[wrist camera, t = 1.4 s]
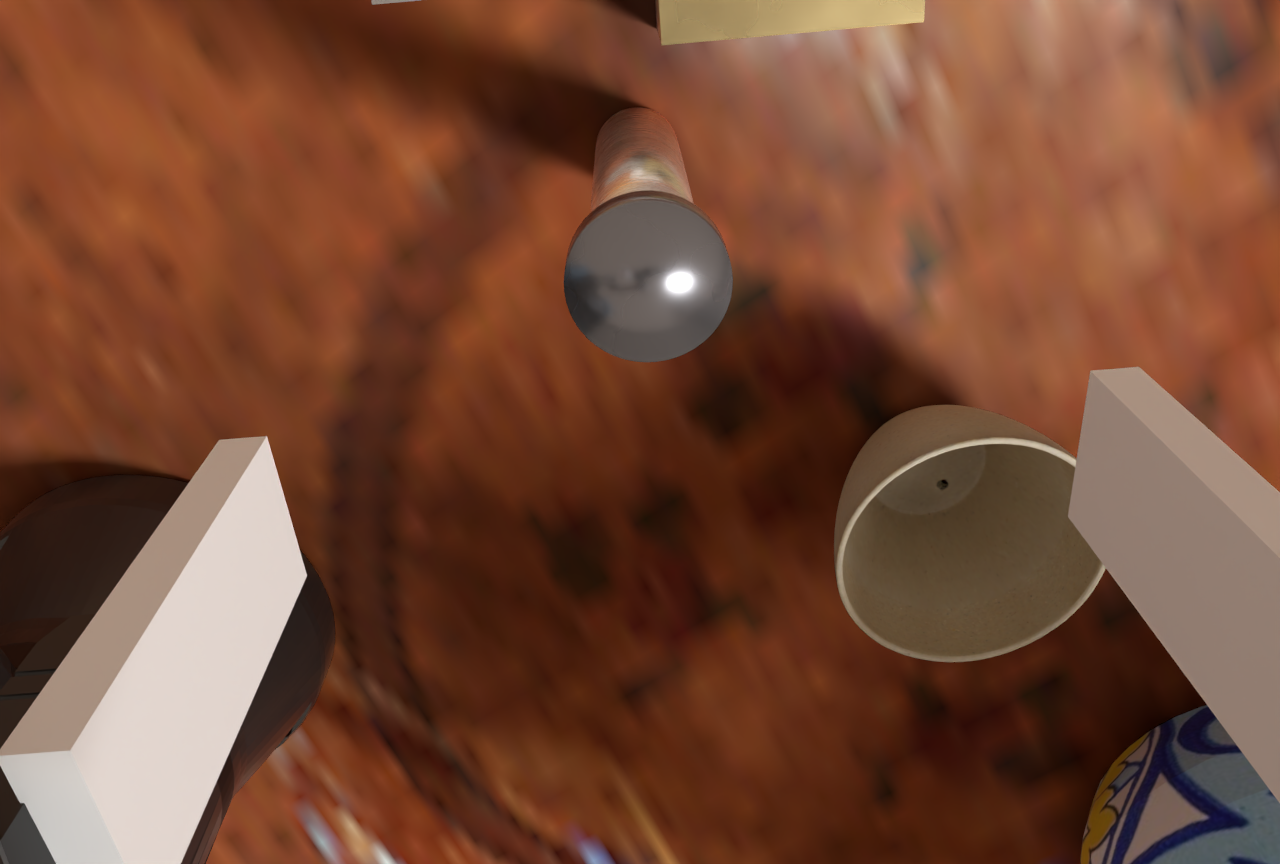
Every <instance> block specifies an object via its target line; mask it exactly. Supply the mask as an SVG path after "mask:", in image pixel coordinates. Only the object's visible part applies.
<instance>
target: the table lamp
mask: <svg viewBox="0 0 1280 864" xmlns="http://www.w3.org/2000/svg"><path fill="white" fill-rule="evenodd" d="M1080 864H1280V803H1279V802H1278V800H1277V799H1276V798H1275V796H1274V795H1273V794H1272V792H1271V791H1270V789H1269V788H1268V787H1267V785H1266V784H1265V783H1264V781H1263V780H1262V779H1261V777H1260V776H1259V775H1258V773H1257V772H1256V771H1255V769H1254V768H1253V766H1252V765H1251V764H1250V762H1249V761H1248V760H1247V758H1246V757H1245V756H1244V754H1243V753H1242V752H1241V750H1240V749H1239V748H1238V746H1237V745H1236V743H1235V742H1234V741H1233V739H1232V738H1231V737H1230V735H1229V734H1228V733H1227V731H1226V730H1225V729H1224V727H1223V726H1222V724H1221V723H1220V722H1219V720H1218V719H1217V718H1216V716H1215V715H1214V714H1213V712H1212V711H1211V710H1210V708H1209V707H1208V706H1207V705H1206V706H1202V707H1199V708H1196V709H1194V710H1191V711H1189V712H1186V713H1184V714H1181V715H1179V716H1176V717H1174V718H1172V719H1170V720H1168V721H1167V722H1165V723H1163V724H1161V725H1159V726H1158V727H1156V728H1154V729H1152V730H1150V731H1149V732H1148V733H1146V734H1145V735H1144V736H1142V737H1141V738H1140V739H1138V740H1137V741H1136V742H1134V743H1133V744H1132V745H1130V746H1129V747H1128V748H1127V749H1126V750H1125V751H1124V752H1123V753H1122V754H1121V755H1120V756H1119V757H1118V758H1117V759H1116V760H1115V761H1114V763H1113V764H1112V765H1111V767H1110V768H1109V770H1108V771H1107V772H1106V774H1105V775H1104V777H1103V778H1102V780H1101V781H1100V784H1099V786H1098V789H1097V791H1096V794H1095V797H1094V799H1093V803H1092V806H1091V810H1090V813H1089V817H1088V821H1087V824H1086V828H1085V832H1084V835H1083V840H1082V849H1081V858H1080Z"/></svg>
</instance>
